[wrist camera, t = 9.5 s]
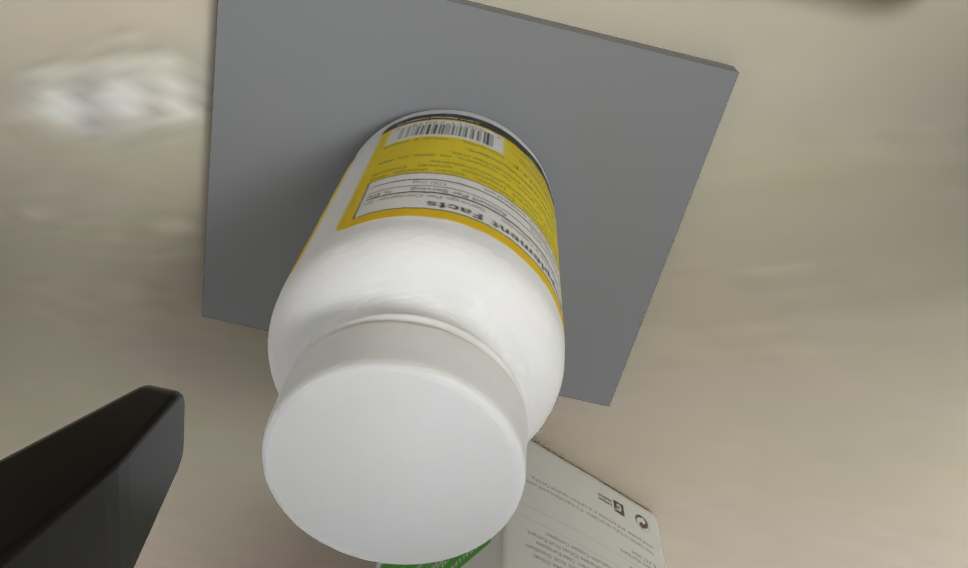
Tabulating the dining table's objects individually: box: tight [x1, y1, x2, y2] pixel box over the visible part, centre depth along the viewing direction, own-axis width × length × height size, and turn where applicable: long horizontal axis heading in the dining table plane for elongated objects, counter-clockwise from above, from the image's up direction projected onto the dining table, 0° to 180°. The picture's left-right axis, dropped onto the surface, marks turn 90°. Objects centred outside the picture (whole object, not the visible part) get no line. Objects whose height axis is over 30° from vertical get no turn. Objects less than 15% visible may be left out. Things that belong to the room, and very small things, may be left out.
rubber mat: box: [202, 0, 739, 406], centre depth 20 cm, size 12×10×1 cm
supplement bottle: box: [261, 109, 565, 565], centre depth 16 cm, size 5×5×10 cm
